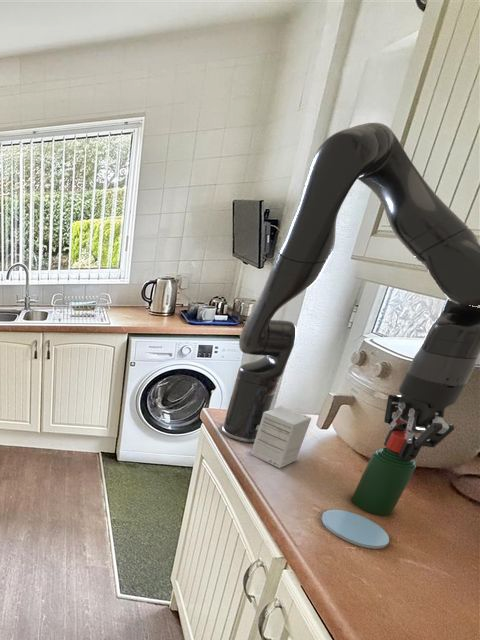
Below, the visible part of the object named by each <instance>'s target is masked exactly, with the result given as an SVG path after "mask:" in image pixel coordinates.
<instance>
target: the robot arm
mask: <svg viewBox="0 0 480 640" xmlns="http://www.w3.org/2000/svg"><path fill="white" fill-rule="evenodd" d="M357 180H358V181H360V182H361V183H362V184H364V185H365V186H366V187H368V188H369V189H370V190H371V191H372V192H373V193H374V194H375V196H377V198H378V200H379V201H380V203H381V205H382V207H383V209H384V211H385V215H386V217H387V220H388V224H389V225H390V228H391V230H392V232H393V233H394V235H395V237H396V238H397V239H398V241H399V242H400V243H401V244H402V245H403V246H404V248H406V249H407V250H408V251H409V253H410V254H411V255H412V256H413V257H414V258H415V260H417V261H418V262H419V263H420V264H421V265H423V266H424V267H425V269H426V270H427V272H428V274H429V275H430V277H431V278H432V280H433V281H434V283H435V284H436V285H437V287H438V288H439V290H440V291H441V292H442V293H443V294H444V295H445V296H446V299H445V302H444V304H443V306H442V308H441V311H440V312H439V313H440V314H439V316H438V317H437V318H436V319H435V320H434V322H433V323H432V324H431V326H430V327H429V329H428V331H427V333H426V335H425V337H424V340H423V342H422V344H421V346H420V348H419V349H418V351H417V352H416V354H415V355H414V357H413V358H412V361H411V363H410V365H409V367H408V369H407V371H406V374H405V376H404V378H403V380H402V382H401V384H400V386H399V388H398V392H399V395H397V394H389V395H388V396H387V402H386V406H385V413H384V419H383V420H384V421H383V422H384V423H385V424H388V430H389V431H388V433H387V436H386V437H385V438H384V439H385V440H384V443H383V446H385V447H386V444H387V442H388V440H389V438H390V435H391V434H392V432H393V431H403V432H408V436H407V442H405V443H404V445H403V447H402V449H401V451H400V453H399V455H398V457H399V458H400V459H402V460H415V459H417V456H418V454H419V453H420V451H421V449H422V447H427V448H435V447H436V446H438V445H439V444H440V443H441V442H442V441H443V440H444V439H445V438H446V437H448V435H450V434H451V433H452V432H453V431H454V430H455V425H454V424H450V423H447V422H446V421H445V420H444V417H445V411H446V408H448V407H450V406H453V405H455V404H456V403H457V402H458V400H459V398H460V396H461V395H462V392H463V391H464V388H465V387H466V385H467V383H468V381H469V379H470V378H471V376H472V374H473V371H474V370H475V367H476V363H477V360H478V358H479V356H480V308H477V307H472V305H473V306H478V305H480V243H479V240H478V239H479V238H477V235H476V234H475V232H474V231H472V229H471V228H469V226H468V225H467V224H466V223H465V222H464V221H462V219H461V218H460V217H459V216H458V215H457V214H456V213H455V211H453V210H452V209H451V208H450V207H448V205H447V204H446V203H445V202H444V201H443V200H442V199H441V198H440V197H439V195H437V194H436V192H434V190H433V189H432V187H431V186H430V185H429V184H428V183H427V181H426V180H425V179H424V177H423V176H422V175H421V173H420V172H419V171H418V169H417V167H416V166H415V165H414V163H413V162H412V160H411V159H410V157H409V156H408V154H407V152H406V151H405V149H404V147H403V146H402V144H401V142H400V140H399V138H398V137H397V135H396V134H395V133H394V131H393V130H392V129H391V128H390V127H389V126H388V125H387V124H384V123H380V122H367V123H363V124H358V125H355V126H351V127H347V128H345V129H342V130H340V131H339V130H338V131H337V132H335V133H334V134H332V135H330V136H329V137H327V139H325V140H324V141H323V142H322V144H321V145H320V146H319V147H318V149H317V151H316V152H315V154H314V156H313V159H312V161H311V165H310V167H309V169H308V173H307V177H306V180H305V183H304V187H303V190H302V194H301V197H300V199H299V202H298V206H297V208H296V210H295V213H294V215H293V217H292V219H291V222H290V224H289V226H288V228H287V231H286V233H285V236H284V239H283V241H282V243H281V245H280V247H279V249H278V251H277V254H276V256H275V258H274V261H273V263H272V266H271V268H270V271H269V273H268V276H267V278H266V281H265V284H264V286H263V289H262V291H261V293H260V295H259V297H258V299H257V301H256V303H255V304H254V307H252V308H253V309H252V310H251V312H250V314H249V316H248V318H247V319H246V321H245V323H244V325H243V327H242V330H241V333H240V336H239V340H238V347H239V350H240V351H241V352H242V353H243V354H246V355H251V356H263V357H261V358H259V359H257V360H254V361H251V362H247V363H243V364H242V365H240V366H239V368H238V371H237V374H236V378H235V380H234V381H235V382H234V384H233V389H232V391H231V396H230V398H229V403H228V407H227V411H226V414H225V417H224V421H223V424H222V427H221V432H222V433H223V435H225V436H226V437H228V438H230V439H231V440H232V439H233V440H235V441H239V442H243V443H254V442H255V439H256V435H257V432H258V429H259V426H260V423H261V419H262V416H263V413H264V412H266V411H269V410H271V407H272V404H273V401H274V397H275V395H276V391H277V388H278V385H279V381H280V380H281V379H280V378H281V377H282V376H283V375H284V372H285V369H286V366H287V364H288V361H289V358H290V356H291V354H292V351H293V349H294V346H295V344H296V339H297V332H298V331H297V327H296V324H295V323H294V322H292V321H290V320H282V319H273V317H274V316H275V314H277V312H278V311H279V310H280V309H281V308H282V307H284V306H285V305H286V304H287V303H289V302H291V301H292V300H293V299H296V297H298V296H300V294H302V293H303V292H305V291H306V290H308V289H309V288H310V287H311V286H312V285H314V284H315V283H316V282H317V281H318V279H319V278H320V277H321V275H322V273H323V271H324V270H325V267H326V266H327V263H328V262H329V260H330V258H331V256H332V253H333V251H334V249H335V244H336V235H337V234H336V233H337V232H336V229H337V219H338V215H339V212H340V210H341V208H342V206H343V203H344V202H345V200H346V198H347V196H348V194H349V192H350V191H351V189H352V187H353V186H354V185H355V182H356V181H357ZM449 300H451V301H449ZM469 305H471V306H469ZM400 394H401V395H400ZM418 434H420V435H419V436H417V435H418ZM416 436H417V437H418V438H416Z"/></svg>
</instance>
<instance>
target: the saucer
mask: <svg viewBox="0 0 480 640" xmlns="http://www.w3.org/2000/svg"><path fill="white" fill-rule="evenodd" d="M321 522H322V524H323V526H324V527H325V528H326V529H327V530H328V531H329V532H330V533H332V534H333V535H334V536H336V537H337V538H340V539H341V540H343V541H345V542H347V543H350V544H352V545H355V546H359V547H361V548H366V549H374V550H380V549H384V548H386V547H387V546H388V545H389V543H390V537H389V534H388V533H387V531H386V530H384V529H383V528H382V527H381V526H380V525H379V524H377V523H375V522H374V521H373V520H371V519H369V518H367V517H364V516H363V515H360V514H357V513H354V512H351V511H349V510H348V511H347V510H343V509H328V510H326V511H324V512H323V513H322V515H321Z"/></svg>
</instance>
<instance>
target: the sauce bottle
mask: <svg viewBox="0 0 480 640" xmlns="http://www.w3.org/2000/svg"><path fill="white" fill-rule="evenodd" d="M398 455H399V453H397V452H394V451H392V450H390V449H388V448H387V447H386V446H385V447H383V448H382V447H381V448H379V449H376V450H375V451H373V452H372V454H371V456H370V458H369V461H368V462H367V465H366V467H365V469H364V471H363V473H362V475H361V478H360V480H359V482H358V483H357V486H356V488H355V490H354V492H353V494H352V496H351V502H352V503H353V504H354V505H355V506H356V507H358V508H360V509H361V510H362V511H365V512H368V513H370V514H373V515H377V516H382V517H385V516H390V515H391V514H392V513H393V512H394V510H395V507H396V506H397V504H398V502H399V500H400V499H401V497H402V495H403V493H404V491H405V489H406V487H407V485H408V484H409V482H410V479H411V478H412V476H413V474H414V472H415V470H416V468H417V462H416V460H415V459H414V460H402V459H400V458H399V457H398Z"/></svg>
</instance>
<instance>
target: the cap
mask: <svg viewBox="0 0 480 640" xmlns="http://www.w3.org/2000/svg"><path fill="white" fill-rule="evenodd" d="M407 436H408V431H406V432H405V431H393V432H392V434H391V435H390V438H389V440H388V442H387V444H386V446H385V448H386V447H387V448H388V449H390V450H392V451H394V452H397V453H400V451H401V449H402V447H403V445H404V443H405V442H407ZM418 437H419V436H417V435H416V438H418Z"/></svg>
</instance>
